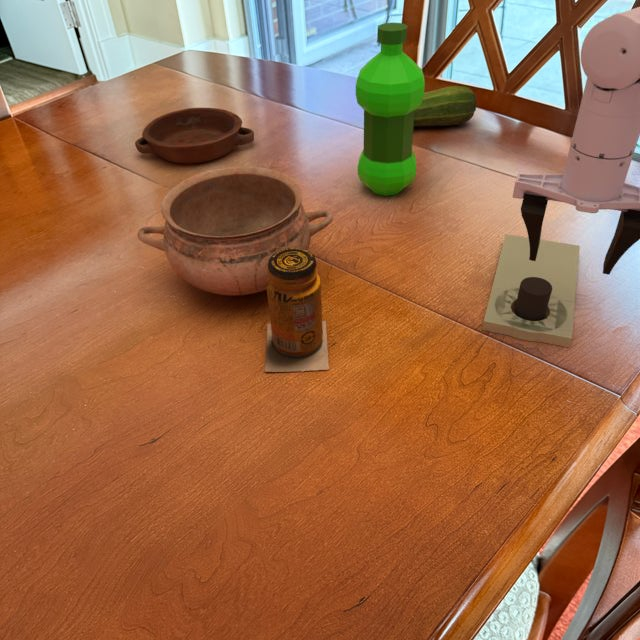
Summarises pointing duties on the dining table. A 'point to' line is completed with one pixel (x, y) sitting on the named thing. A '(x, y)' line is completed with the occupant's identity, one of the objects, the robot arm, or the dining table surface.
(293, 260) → the condiment
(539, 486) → the dining table surface
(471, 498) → the dining table surface
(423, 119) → the vegetable
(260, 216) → the cooking pot
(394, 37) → the plastic bottle
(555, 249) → the plate
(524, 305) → the stopper
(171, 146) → the dish
